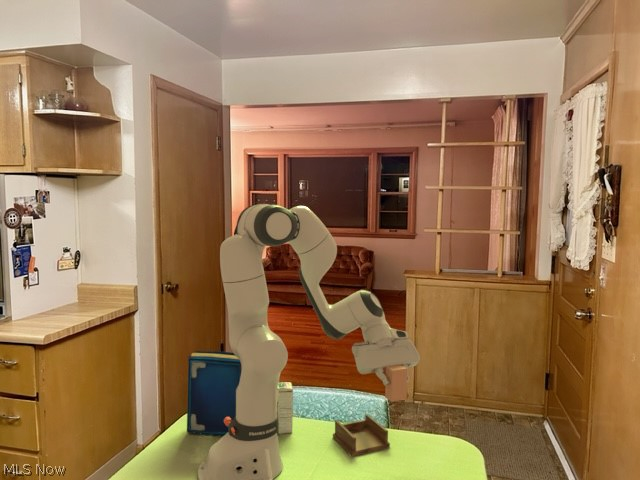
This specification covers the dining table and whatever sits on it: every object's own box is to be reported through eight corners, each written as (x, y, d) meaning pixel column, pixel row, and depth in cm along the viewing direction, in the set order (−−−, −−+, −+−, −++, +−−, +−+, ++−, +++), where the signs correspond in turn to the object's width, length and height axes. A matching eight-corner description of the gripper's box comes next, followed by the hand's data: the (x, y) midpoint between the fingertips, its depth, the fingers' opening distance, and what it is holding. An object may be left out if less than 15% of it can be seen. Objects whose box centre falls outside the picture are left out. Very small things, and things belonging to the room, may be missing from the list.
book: (259, 428, 145) (259, 352, 143) (253, 439, 138) (253, 359, 136) (194, 424, 147) (193, 349, 146) (185, 435, 140) (185, 356, 138)
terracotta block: (391, 402, 127) (392, 370, 126) (385, 397, 130) (385, 366, 129) (406, 399, 129) (407, 368, 128) (399, 394, 132) (400, 364, 131)
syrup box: (273, 426, 146) (273, 382, 146) (291, 424, 148) (291, 381, 147) (274, 434, 141) (274, 389, 140) (293, 432, 142) (293, 388, 141)
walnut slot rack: (351, 456, 128) (351, 438, 128) (332, 437, 139) (333, 420, 139) (389, 447, 134) (389, 430, 133) (369, 429, 145) (369, 413, 144)
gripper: (353, 338, 130) (370, 382, 122) (411, 331, 139) (431, 372, 130) (346, 349, 135) (361, 393, 126) (403, 342, 143) (421, 382, 135)
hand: (397, 382), depth 128 cm, fingers closed on terracotta block, 5 cm apart
